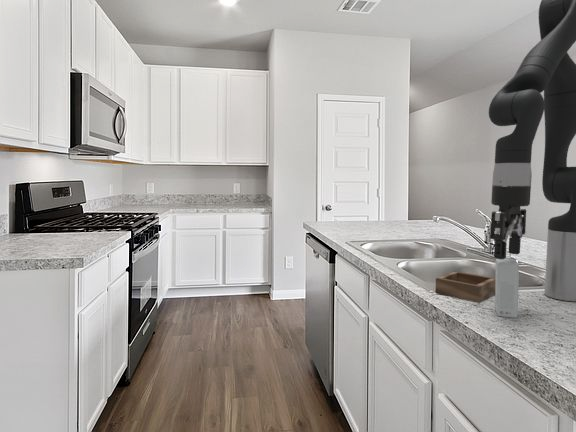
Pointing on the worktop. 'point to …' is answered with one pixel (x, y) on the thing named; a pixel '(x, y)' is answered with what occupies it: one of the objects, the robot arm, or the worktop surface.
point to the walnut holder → (466, 286)
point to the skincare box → (506, 287)
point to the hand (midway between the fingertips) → (507, 256)
